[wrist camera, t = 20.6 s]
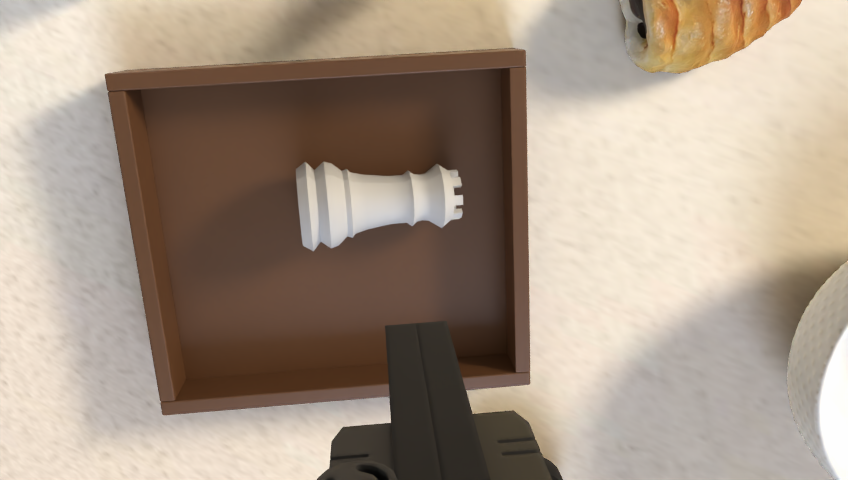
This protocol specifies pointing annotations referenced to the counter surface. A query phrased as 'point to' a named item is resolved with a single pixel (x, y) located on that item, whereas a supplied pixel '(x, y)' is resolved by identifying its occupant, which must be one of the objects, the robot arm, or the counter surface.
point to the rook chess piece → (371, 201)
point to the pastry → (695, 30)
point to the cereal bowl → (823, 375)
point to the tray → (324, 267)
